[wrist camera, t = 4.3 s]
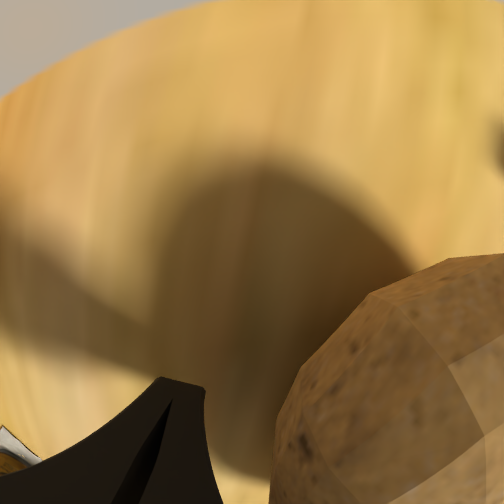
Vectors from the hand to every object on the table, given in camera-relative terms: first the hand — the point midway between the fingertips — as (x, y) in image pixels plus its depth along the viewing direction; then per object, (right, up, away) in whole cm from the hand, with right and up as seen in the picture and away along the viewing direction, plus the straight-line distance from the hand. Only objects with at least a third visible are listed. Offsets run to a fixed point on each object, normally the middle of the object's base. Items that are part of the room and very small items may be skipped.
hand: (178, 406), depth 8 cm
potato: (+7, -1, +2) cm, 8 cm away
